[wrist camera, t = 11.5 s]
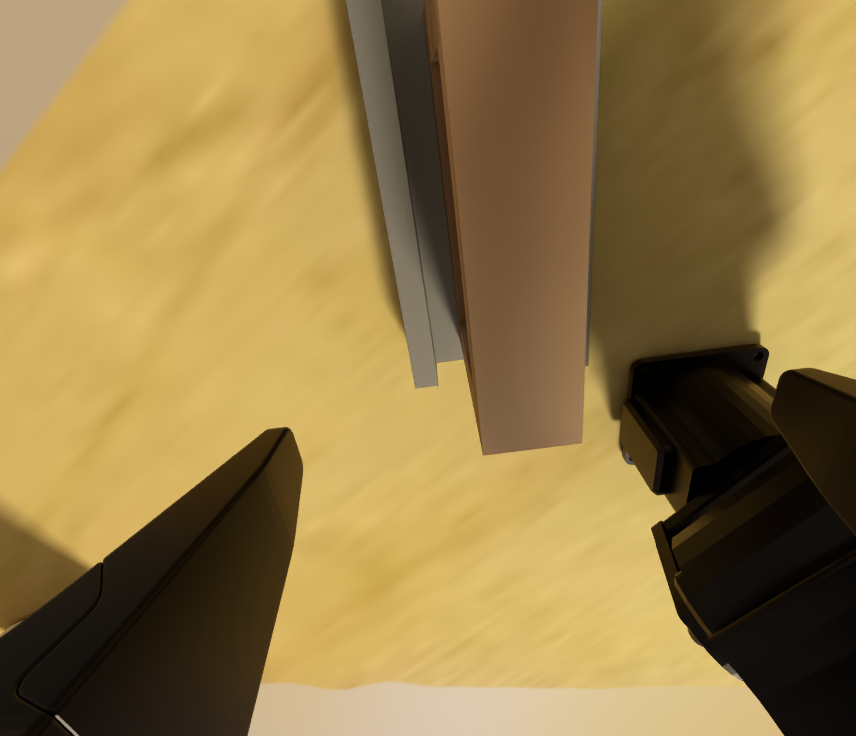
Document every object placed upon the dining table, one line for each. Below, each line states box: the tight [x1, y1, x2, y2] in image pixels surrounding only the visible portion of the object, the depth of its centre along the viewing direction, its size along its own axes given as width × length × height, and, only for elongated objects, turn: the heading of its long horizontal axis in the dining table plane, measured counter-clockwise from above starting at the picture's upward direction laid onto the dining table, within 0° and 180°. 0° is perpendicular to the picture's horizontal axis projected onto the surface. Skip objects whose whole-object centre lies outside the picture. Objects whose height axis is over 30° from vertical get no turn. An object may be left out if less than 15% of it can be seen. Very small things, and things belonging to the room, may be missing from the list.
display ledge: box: [346, 0, 602, 388], centre depth 18 cm, size 7×14×3 cm, turn 8°
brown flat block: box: [423, 0, 598, 455], centre depth 15 cm, size 3×12×8 cm, turn 8°
